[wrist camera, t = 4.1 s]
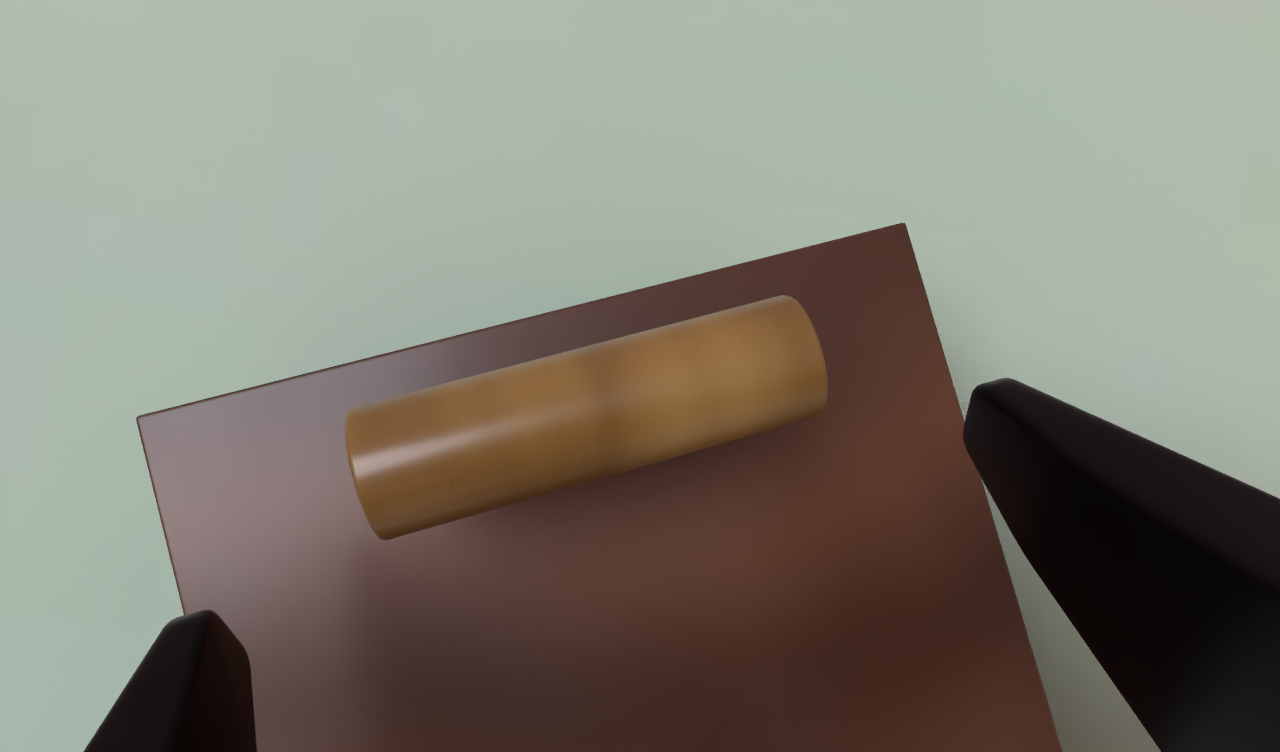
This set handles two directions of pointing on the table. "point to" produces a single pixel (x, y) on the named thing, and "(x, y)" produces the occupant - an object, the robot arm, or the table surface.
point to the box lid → (617, 530)
